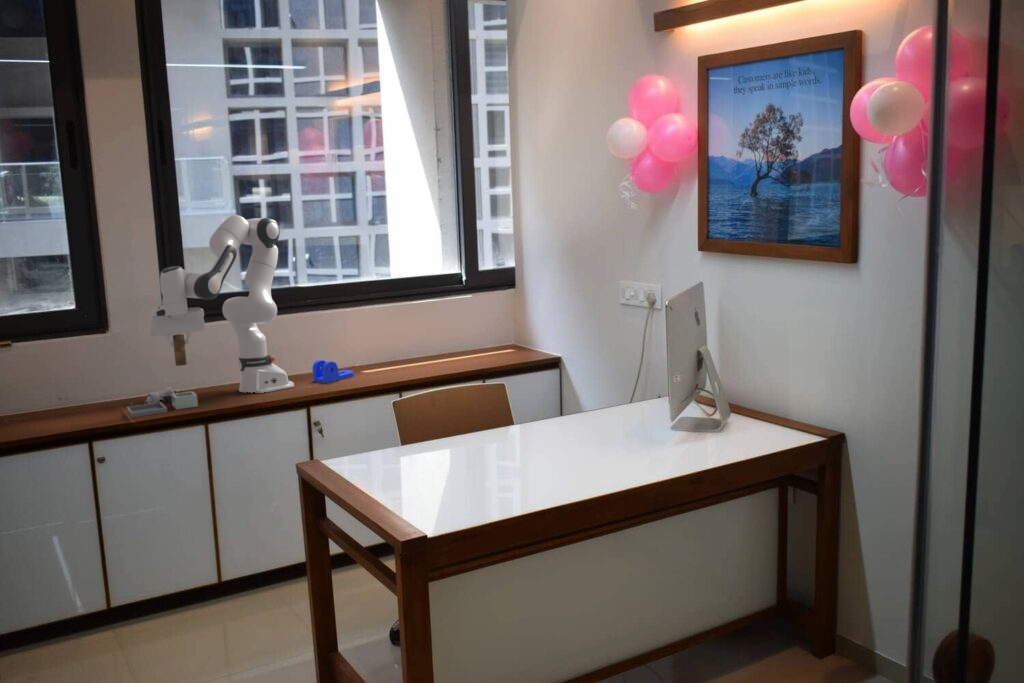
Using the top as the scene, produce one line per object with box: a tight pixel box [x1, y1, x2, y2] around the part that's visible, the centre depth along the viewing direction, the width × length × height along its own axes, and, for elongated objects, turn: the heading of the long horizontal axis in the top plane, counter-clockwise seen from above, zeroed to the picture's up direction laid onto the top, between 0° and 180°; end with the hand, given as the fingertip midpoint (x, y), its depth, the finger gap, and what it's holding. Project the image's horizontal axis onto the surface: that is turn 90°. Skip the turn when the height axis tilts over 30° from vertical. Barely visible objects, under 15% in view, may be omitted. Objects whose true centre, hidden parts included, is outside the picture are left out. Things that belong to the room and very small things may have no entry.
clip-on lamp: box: [130, 386, 184, 406], centre depth 366 cm, size 12×6×18 cm
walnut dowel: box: [172, 333, 188, 367], centre depth 356 cm, size 4×4×12 cm
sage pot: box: [171, 390, 199, 410], centre depth 359 cm, size 8×8×6 cm
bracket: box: [312, 359, 355, 384], centre depth 404 cm, size 18×8×9 cm, turn 142°
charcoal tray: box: [126, 401, 168, 421], centre depth 352 cm, size 13×13×2 cm
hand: (179, 345), depth 355 cm, fingers closed on walnut dowel, 4 cm apart
